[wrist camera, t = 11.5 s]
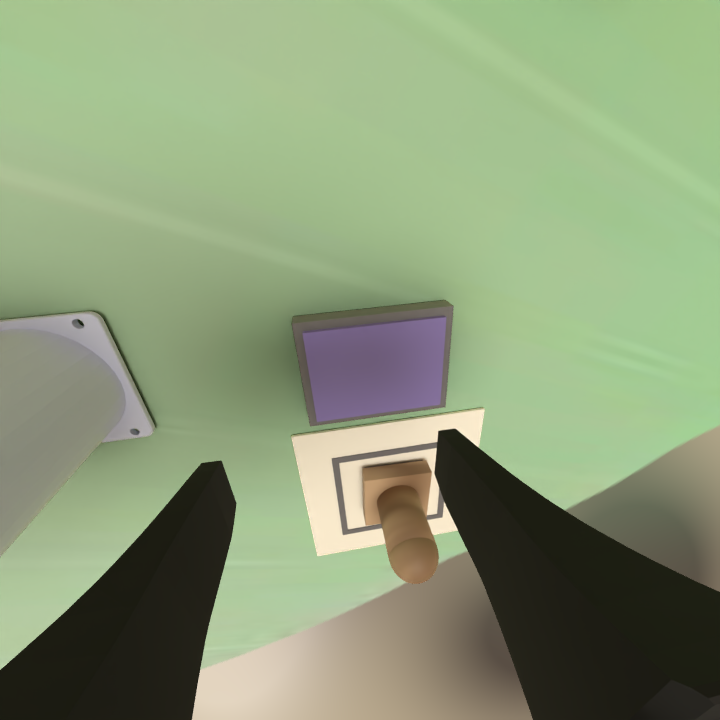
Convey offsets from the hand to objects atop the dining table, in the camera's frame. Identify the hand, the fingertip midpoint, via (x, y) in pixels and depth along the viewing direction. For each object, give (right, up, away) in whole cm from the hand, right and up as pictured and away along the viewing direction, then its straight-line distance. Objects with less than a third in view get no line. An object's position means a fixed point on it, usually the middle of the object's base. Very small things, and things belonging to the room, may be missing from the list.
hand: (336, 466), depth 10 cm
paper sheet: (+3, -7, +15) cm, 17 cm away
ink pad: (+2, +4, +9) cm, 10 cm away
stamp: (+3, -6, +14) cm, 16 cm away
